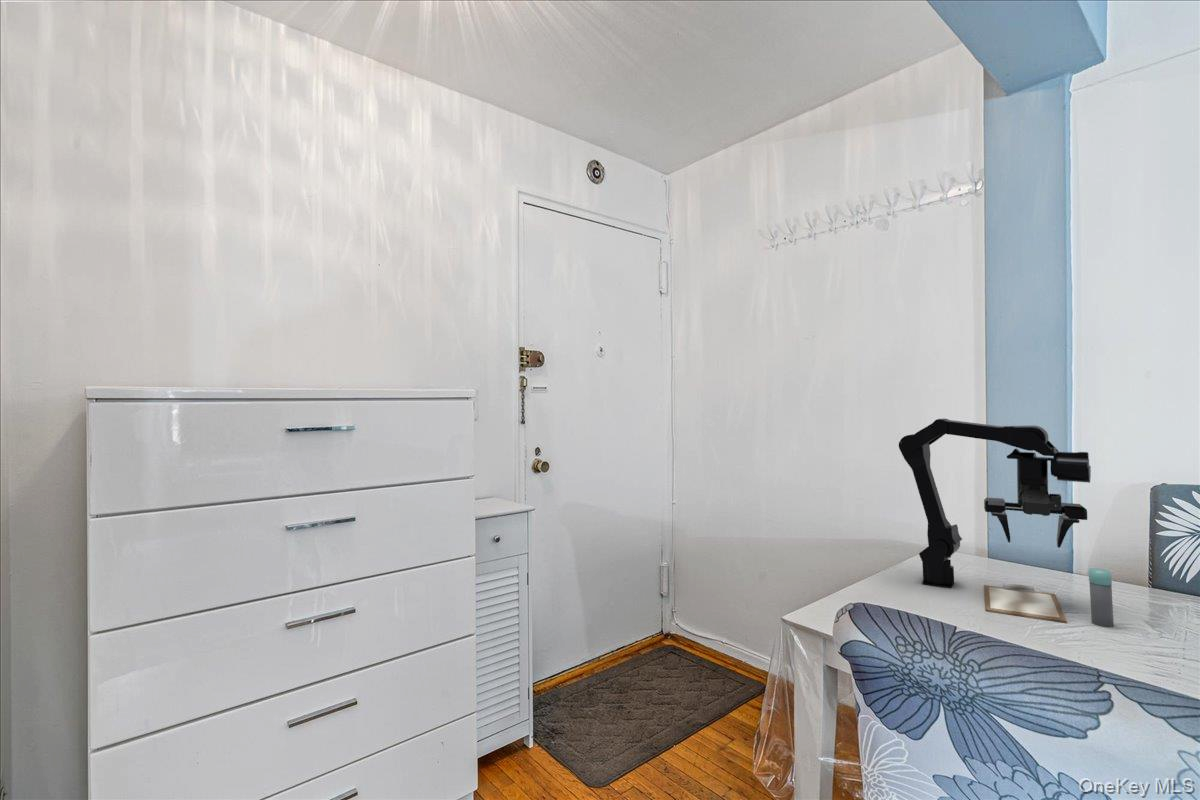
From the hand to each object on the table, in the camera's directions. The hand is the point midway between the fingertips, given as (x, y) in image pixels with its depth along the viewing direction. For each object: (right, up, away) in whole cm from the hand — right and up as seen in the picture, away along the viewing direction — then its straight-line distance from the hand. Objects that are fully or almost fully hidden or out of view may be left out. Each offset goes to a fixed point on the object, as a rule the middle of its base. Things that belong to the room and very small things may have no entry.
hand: (1033, 544), depth 129 cm
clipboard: (-5, -13, -2) cm, 14 cm away
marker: (+2, -13, -15) cm, 20 cm away
